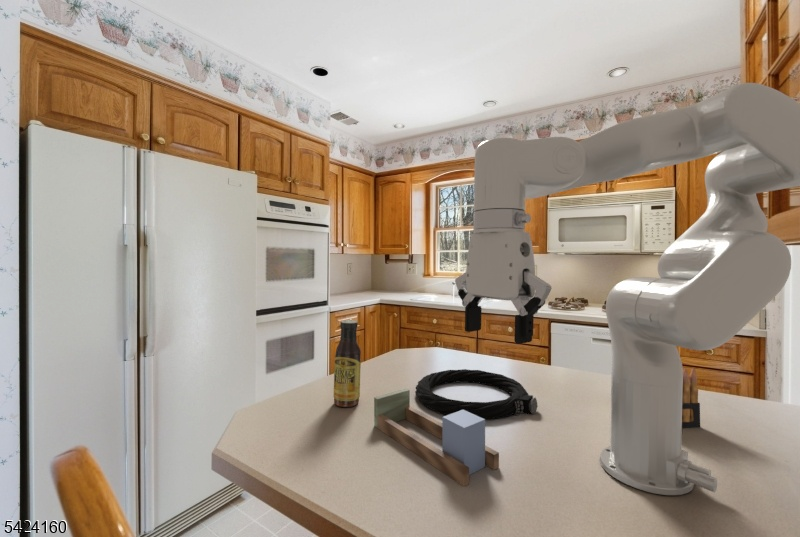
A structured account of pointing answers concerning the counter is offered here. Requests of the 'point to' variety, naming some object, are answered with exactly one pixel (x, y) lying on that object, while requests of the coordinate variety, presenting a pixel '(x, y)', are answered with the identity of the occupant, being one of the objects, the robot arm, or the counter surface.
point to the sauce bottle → (347, 366)
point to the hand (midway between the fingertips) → (496, 336)
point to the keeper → (464, 439)
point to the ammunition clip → (690, 401)
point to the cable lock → (485, 410)
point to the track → (398, 409)
